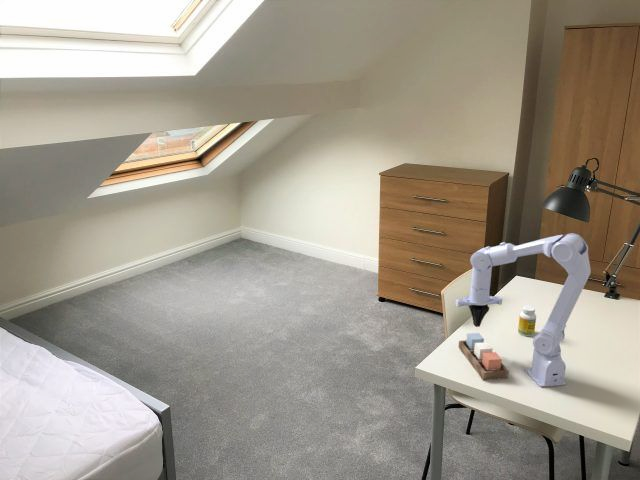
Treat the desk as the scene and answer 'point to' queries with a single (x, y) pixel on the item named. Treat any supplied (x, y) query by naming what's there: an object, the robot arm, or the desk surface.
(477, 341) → the key blue
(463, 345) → the frame
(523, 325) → the supplement bottle
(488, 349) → the key white
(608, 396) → the desk surface
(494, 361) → the key terracotta
